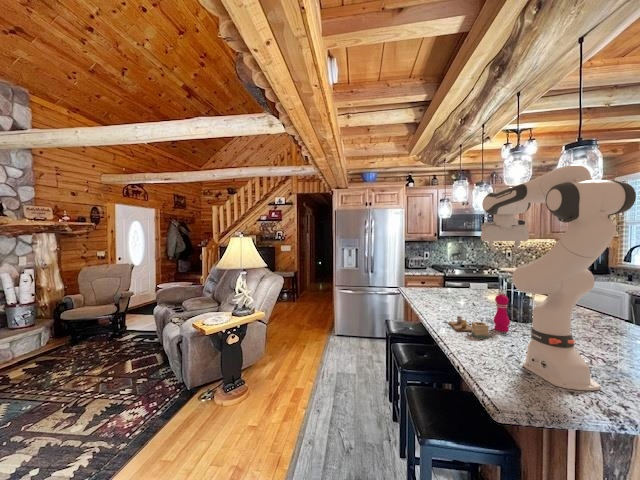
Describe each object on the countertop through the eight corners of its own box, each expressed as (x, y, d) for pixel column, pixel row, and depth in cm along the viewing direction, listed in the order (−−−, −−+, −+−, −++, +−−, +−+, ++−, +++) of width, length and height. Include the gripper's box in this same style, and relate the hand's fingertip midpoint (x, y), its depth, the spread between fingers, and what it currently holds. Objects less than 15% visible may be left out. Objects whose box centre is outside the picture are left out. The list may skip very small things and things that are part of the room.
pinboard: (475, 332, 146) (475, 322, 146) (457, 331, 148) (457, 322, 148) (465, 323, 160) (465, 315, 160) (448, 323, 162) (448, 314, 162)
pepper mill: (505, 327, 154) (505, 290, 153) (512, 332, 146) (513, 293, 146) (490, 327, 154) (491, 290, 154) (497, 331, 147) (498, 293, 147)
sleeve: (488, 338, 138) (488, 325, 138) (476, 337, 139) (476, 325, 139) (483, 334, 144) (483, 322, 144) (471, 333, 145) (471, 321, 145)
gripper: (484, 222, 135) (483, 251, 136) (531, 221, 133) (530, 251, 133) (478, 222, 142) (478, 250, 142) (523, 222, 139) (523, 250, 139)
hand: (504, 250), depth 137 cm, fingers open, 8 cm apart
